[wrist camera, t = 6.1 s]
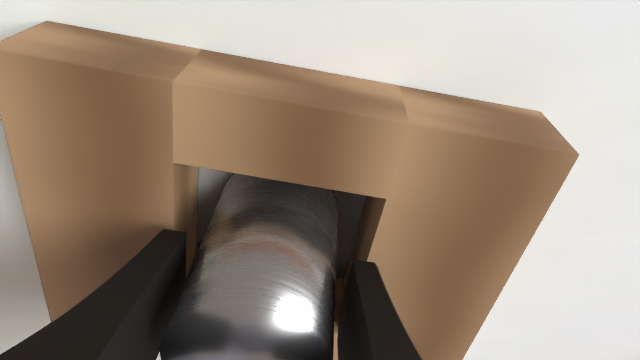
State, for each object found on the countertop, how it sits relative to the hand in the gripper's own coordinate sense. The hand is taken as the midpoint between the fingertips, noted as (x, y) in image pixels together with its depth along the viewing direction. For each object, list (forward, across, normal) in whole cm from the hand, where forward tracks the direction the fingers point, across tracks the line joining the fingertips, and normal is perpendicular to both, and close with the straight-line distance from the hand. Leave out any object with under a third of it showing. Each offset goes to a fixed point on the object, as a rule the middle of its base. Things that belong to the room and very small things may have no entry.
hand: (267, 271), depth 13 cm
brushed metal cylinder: (+3, 0, 0) cm, 3 cm away
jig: (+3, 0, 0) cm, 3 cm away
